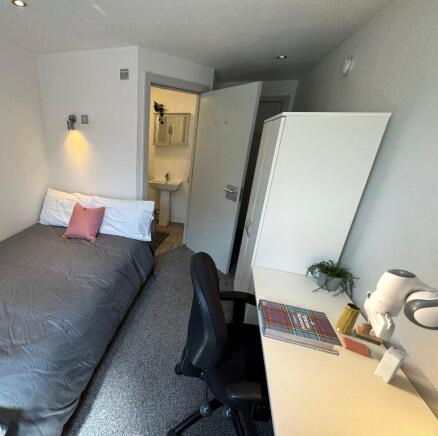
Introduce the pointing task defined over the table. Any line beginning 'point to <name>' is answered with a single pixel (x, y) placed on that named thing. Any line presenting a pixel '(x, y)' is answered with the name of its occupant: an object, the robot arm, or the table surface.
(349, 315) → the vase
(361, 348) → the tile
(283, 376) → the table surface
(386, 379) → the cosmetic box
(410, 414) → the table surface
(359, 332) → the brush
